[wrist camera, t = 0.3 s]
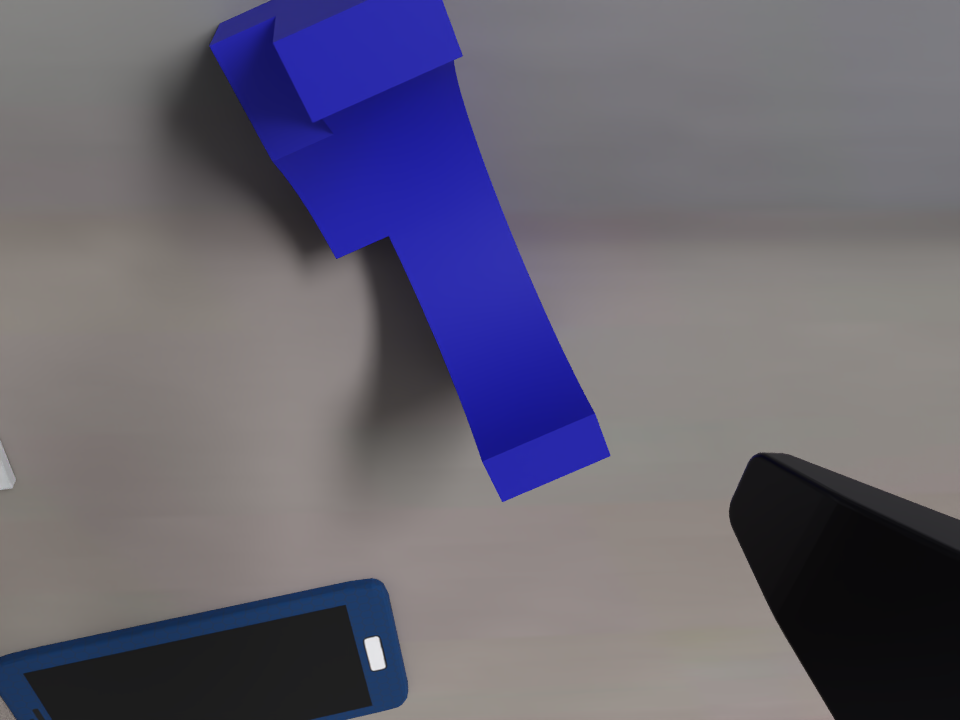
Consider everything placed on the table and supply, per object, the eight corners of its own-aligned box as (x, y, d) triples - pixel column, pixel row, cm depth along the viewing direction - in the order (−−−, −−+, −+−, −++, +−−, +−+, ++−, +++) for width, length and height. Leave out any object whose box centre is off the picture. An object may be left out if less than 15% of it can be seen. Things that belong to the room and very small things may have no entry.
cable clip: (220, 22, 19) (194, 77, 14) (394, -56, 19) (431, -29, 14) (417, 395, 25) (448, 524, 20) (547, 339, 25) (610, 455, 20)
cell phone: (410, 689, 33) (412, 705, 33) (63, 769, 32) (58, 787, 31) (383, 566, 29) (385, 582, 29) (-16, 650, 28) (-23, 668, 27)
